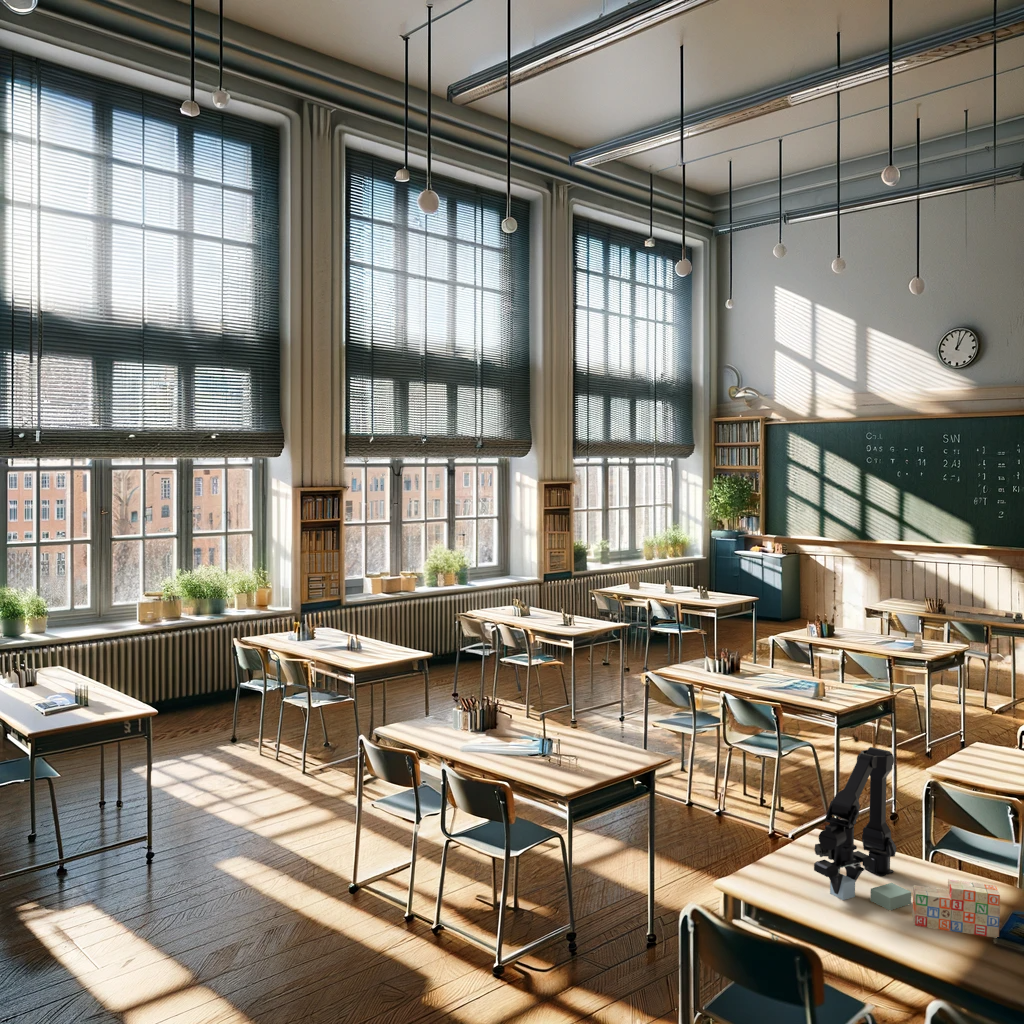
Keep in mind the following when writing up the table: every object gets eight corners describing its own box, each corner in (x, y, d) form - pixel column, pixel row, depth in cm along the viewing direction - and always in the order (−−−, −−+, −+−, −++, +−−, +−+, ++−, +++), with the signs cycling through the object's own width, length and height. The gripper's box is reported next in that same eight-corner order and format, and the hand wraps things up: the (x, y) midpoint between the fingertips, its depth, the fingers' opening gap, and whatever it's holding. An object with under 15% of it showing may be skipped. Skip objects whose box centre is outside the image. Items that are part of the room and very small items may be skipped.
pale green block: (891, 895, 280) (891, 882, 280) (911, 905, 274) (911, 891, 274) (870, 901, 276) (870, 888, 276) (889, 911, 270) (890, 898, 269)
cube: (841, 890, 283) (842, 874, 283) (854, 896, 278) (855, 880, 278) (830, 893, 280) (830, 877, 280) (843, 900, 276) (843, 883, 276)
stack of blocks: (914, 926, 261) (915, 883, 260) (912, 916, 266) (913, 874, 266) (999, 938, 254) (1000, 894, 253) (995, 928, 260) (996, 884, 259)
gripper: (844, 826, 290) (843, 875, 291) (800, 836, 281) (799, 887, 282) (873, 838, 280) (872, 889, 281) (829, 850, 272) (828, 902, 272)
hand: (842, 891), depth 279 cm, fingers closed on cube, 5 cm apart
